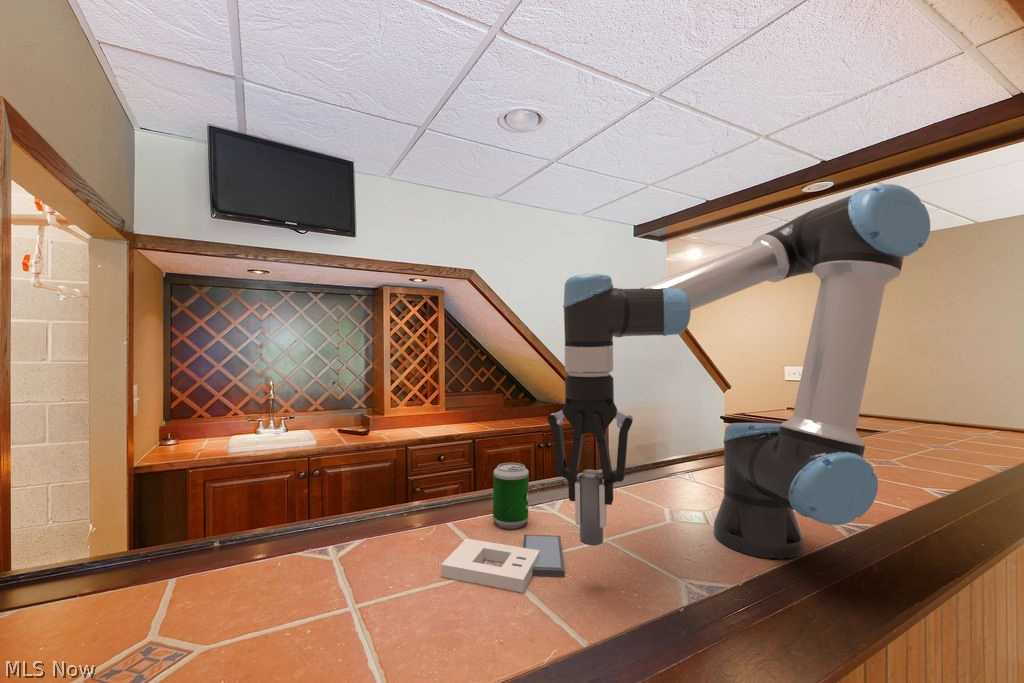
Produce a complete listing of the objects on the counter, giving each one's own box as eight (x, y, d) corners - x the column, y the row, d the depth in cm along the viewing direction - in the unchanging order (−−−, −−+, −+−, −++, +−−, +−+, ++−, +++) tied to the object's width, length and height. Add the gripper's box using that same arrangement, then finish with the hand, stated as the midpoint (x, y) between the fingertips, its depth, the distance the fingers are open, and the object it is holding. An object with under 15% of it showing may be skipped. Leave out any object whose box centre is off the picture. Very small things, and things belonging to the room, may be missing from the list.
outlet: (539, 561, 77) (539, 549, 77) (523, 592, 67) (523, 579, 67) (466, 549, 81) (466, 537, 81) (440, 576, 72) (441, 563, 72)
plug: (604, 536, 70) (603, 469, 70) (601, 546, 67) (600, 475, 67) (581, 534, 71) (580, 467, 71) (578, 543, 68) (577, 474, 68)
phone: (560, 540, 85) (560, 535, 85) (564, 576, 72) (564, 570, 72) (523, 539, 85) (524, 534, 85) (521, 575, 72) (521, 568, 72)
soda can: (525, 532, 89) (525, 472, 89) (488, 528, 90) (489, 470, 90) (530, 517, 96) (531, 462, 96) (497, 514, 97) (498, 460, 98)
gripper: (642, 372, 70) (645, 519, 70) (544, 371, 75) (547, 508, 75) (641, 376, 63) (643, 539, 63) (533, 375, 68) (535, 526, 68)
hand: (591, 522), depth 69 cm, fingers closed on plug, 3 cm apart
